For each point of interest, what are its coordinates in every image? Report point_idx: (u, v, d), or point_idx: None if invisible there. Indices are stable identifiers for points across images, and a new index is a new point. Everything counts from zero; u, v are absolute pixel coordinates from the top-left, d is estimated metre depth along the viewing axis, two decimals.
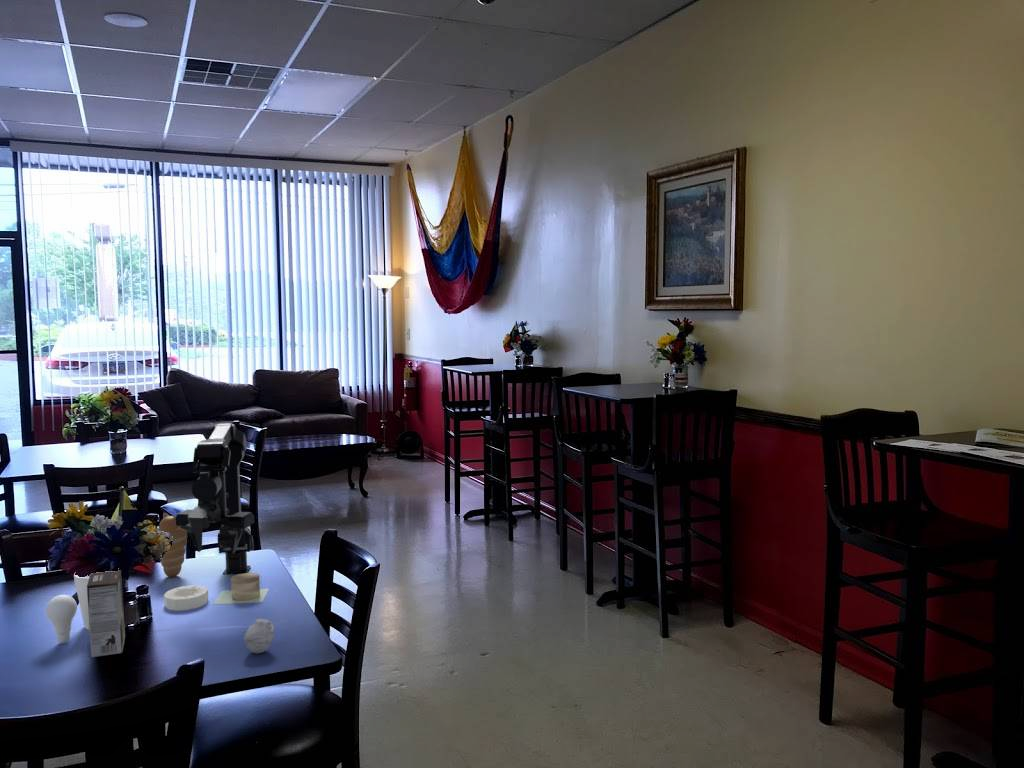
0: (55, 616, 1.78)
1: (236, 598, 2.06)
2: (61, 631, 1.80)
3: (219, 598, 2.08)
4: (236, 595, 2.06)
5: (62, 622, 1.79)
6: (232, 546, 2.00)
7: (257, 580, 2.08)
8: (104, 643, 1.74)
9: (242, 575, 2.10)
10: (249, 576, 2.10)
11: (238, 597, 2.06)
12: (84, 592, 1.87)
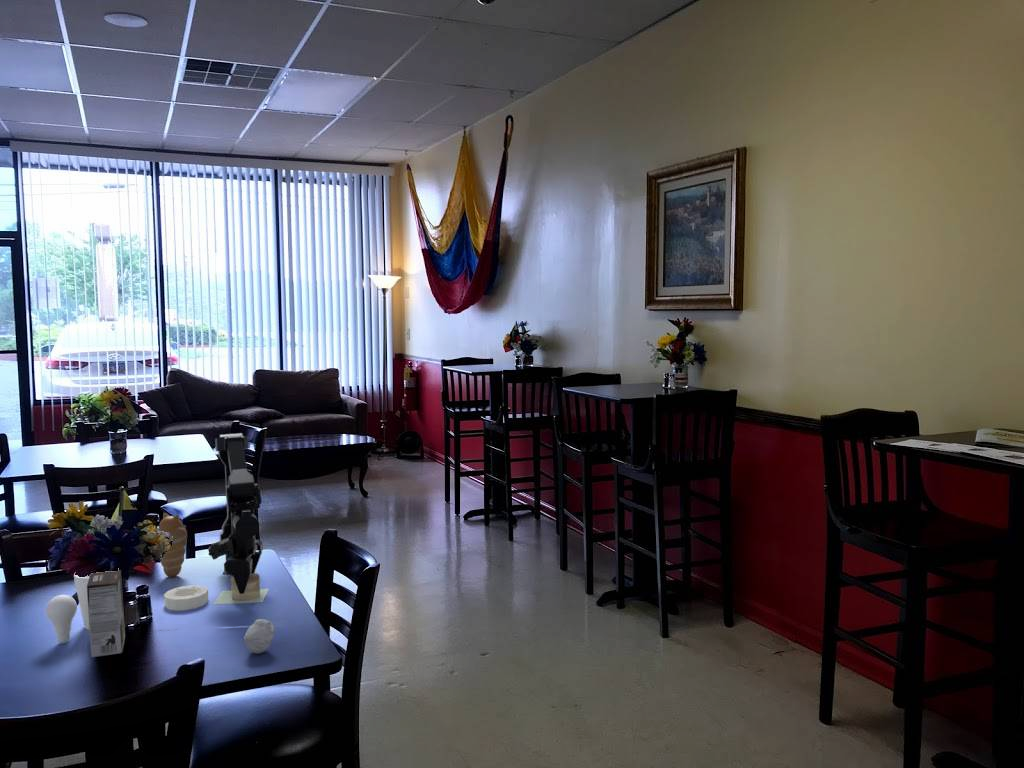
0: (55, 616, 1.78)
1: (236, 598, 2.06)
2: (61, 631, 1.80)
3: (219, 598, 2.08)
4: (236, 595, 2.06)
5: (62, 622, 1.79)
6: None
7: (257, 580, 2.08)
8: (104, 643, 1.74)
9: None
10: None
11: (238, 597, 2.06)
12: (84, 592, 1.87)
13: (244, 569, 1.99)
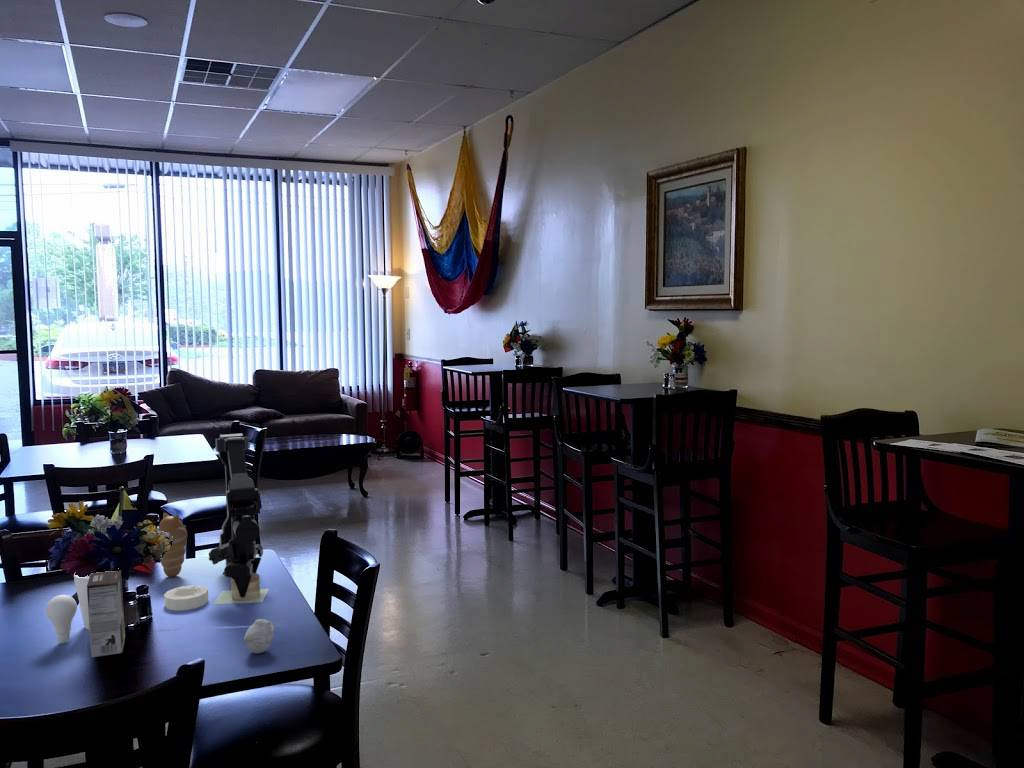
0: (55, 616, 1.78)
1: (236, 598, 2.06)
2: (61, 631, 1.80)
3: (219, 598, 2.08)
4: (236, 595, 2.06)
5: (62, 622, 1.79)
6: None
7: (257, 580, 2.08)
8: (104, 643, 1.74)
9: None
10: None
11: (238, 597, 2.06)
12: (84, 592, 1.87)
13: (244, 574, 1.99)
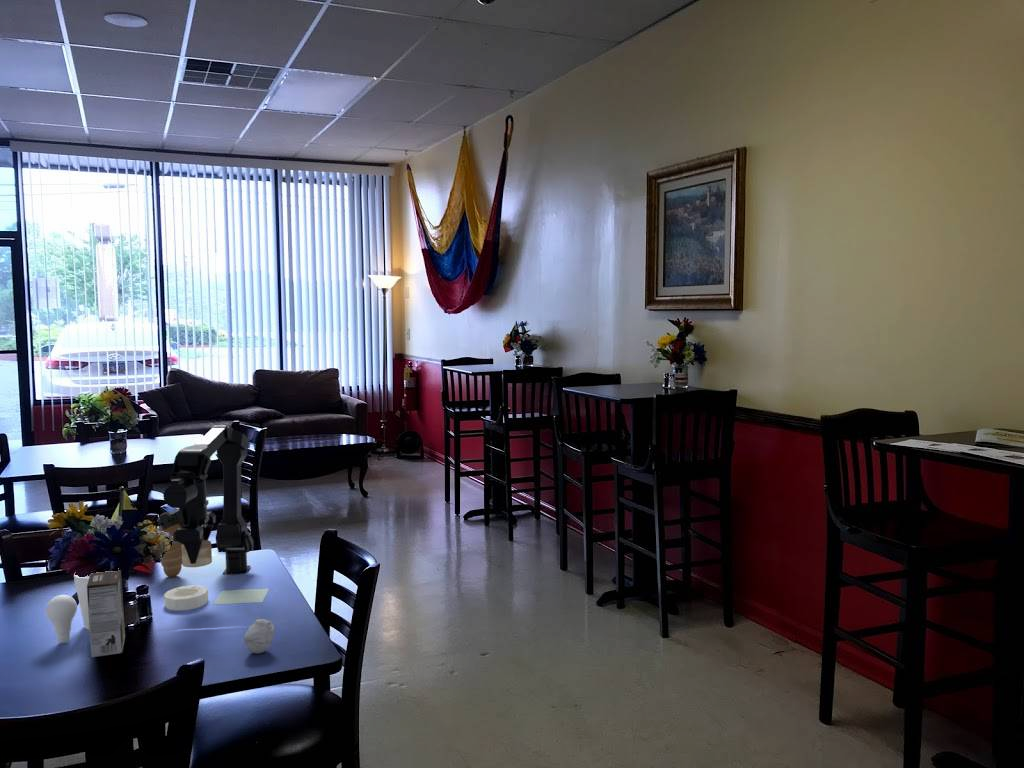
0: (55, 616, 1.78)
1: (187, 564, 2.01)
2: (61, 631, 1.80)
3: (219, 598, 2.08)
4: (186, 562, 2.01)
5: (62, 622, 1.79)
6: None
7: (209, 546, 2.03)
8: (104, 643, 1.74)
9: None
10: None
11: (189, 564, 2.01)
12: (84, 592, 1.87)
13: (194, 539, 1.95)
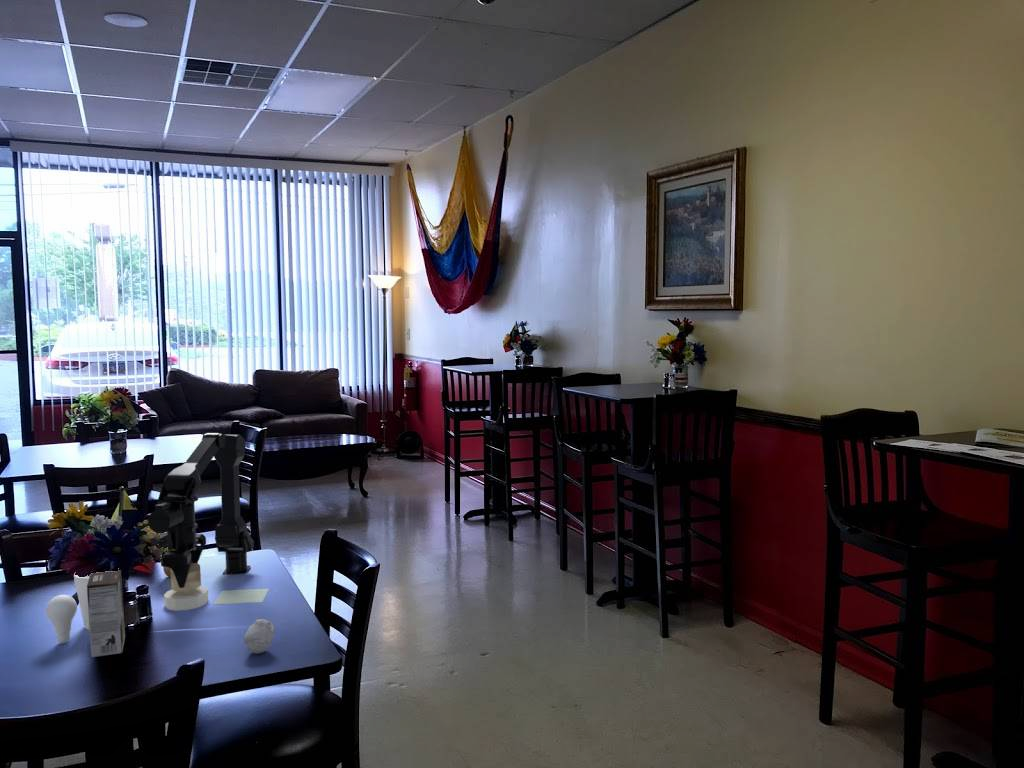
0: (55, 616, 1.78)
1: (175, 588, 2.01)
2: (61, 631, 1.80)
3: (219, 598, 2.08)
4: (175, 586, 2.01)
5: (62, 622, 1.79)
6: None
7: (197, 570, 2.03)
8: (104, 643, 1.74)
9: None
10: None
11: (178, 588, 2.01)
12: (84, 592, 1.87)
13: (181, 564, 1.94)
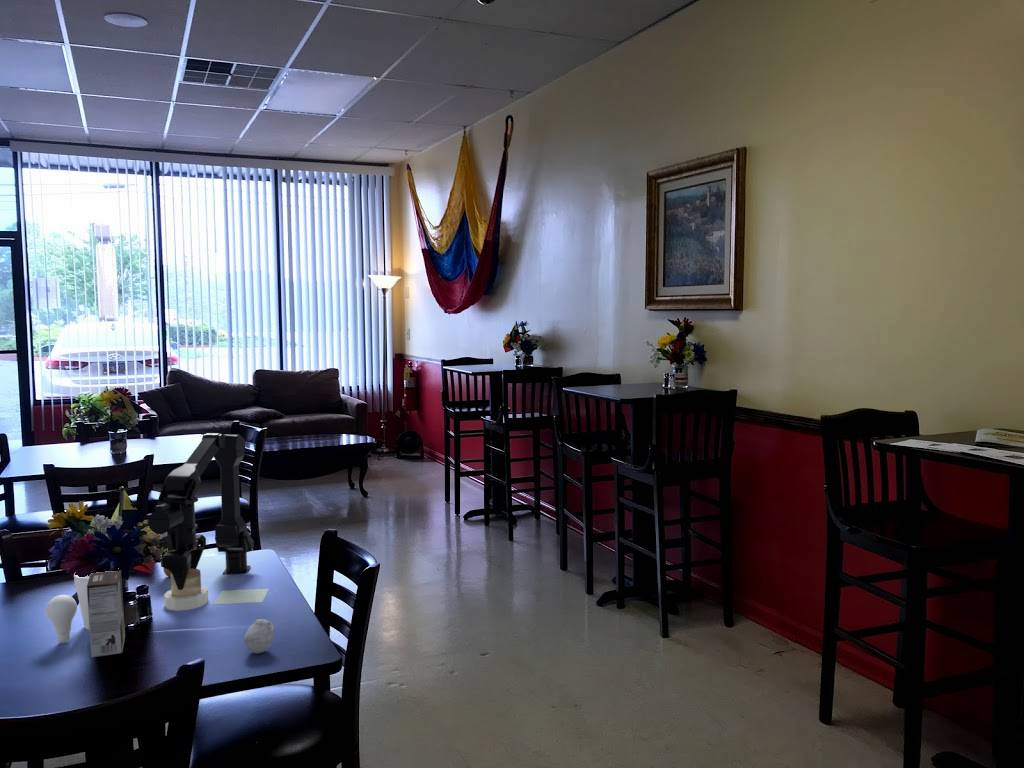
0: (55, 616, 1.78)
1: (175, 594, 2.01)
2: (61, 631, 1.80)
3: (219, 598, 2.08)
4: (175, 591, 2.01)
5: (62, 622, 1.79)
6: None
7: (197, 576, 2.03)
8: (104, 643, 1.74)
9: None
10: (190, 571, 2.05)
11: (178, 593, 2.01)
12: (84, 592, 1.87)
13: (181, 564, 1.94)
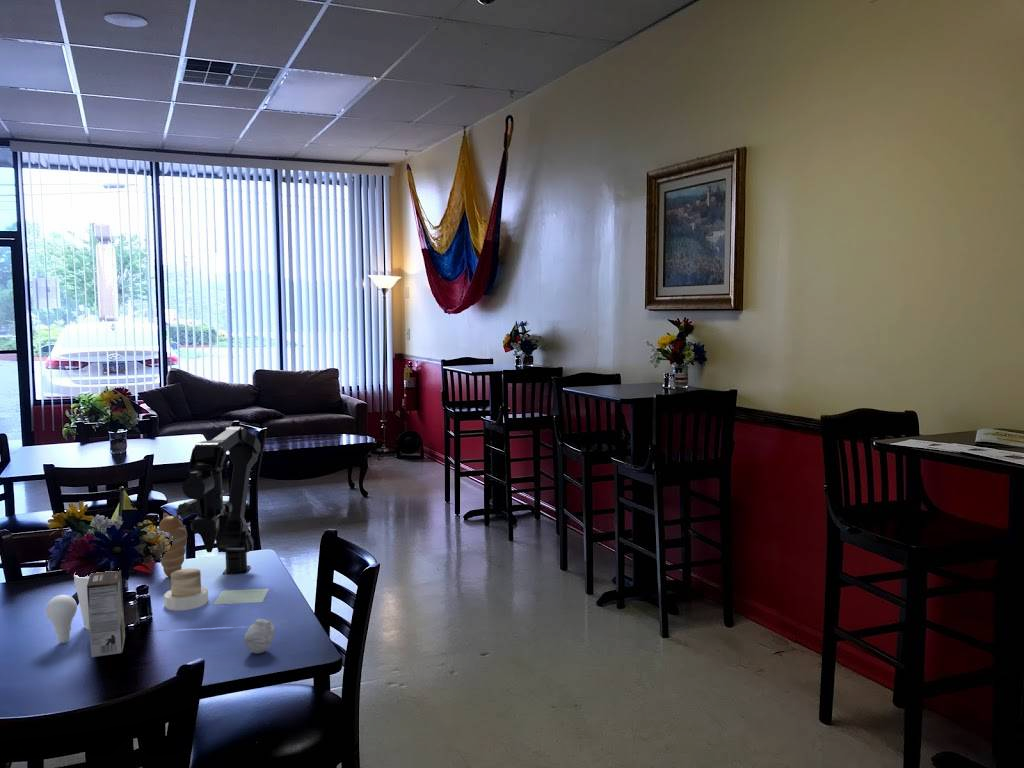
0: (55, 616, 1.78)
1: (175, 594, 2.01)
2: (61, 631, 1.80)
3: (219, 598, 2.08)
4: (175, 591, 2.01)
5: (62, 622, 1.79)
6: None
7: (197, 576, 2.03)
8: (104, 643, 1.74)
9: (183, 571, 2.05)
10: (190, 571, 2.05)
11: (178, 593, 2.01)
12: (84, 592, 1.87)
13: (210, 528, 2.05)
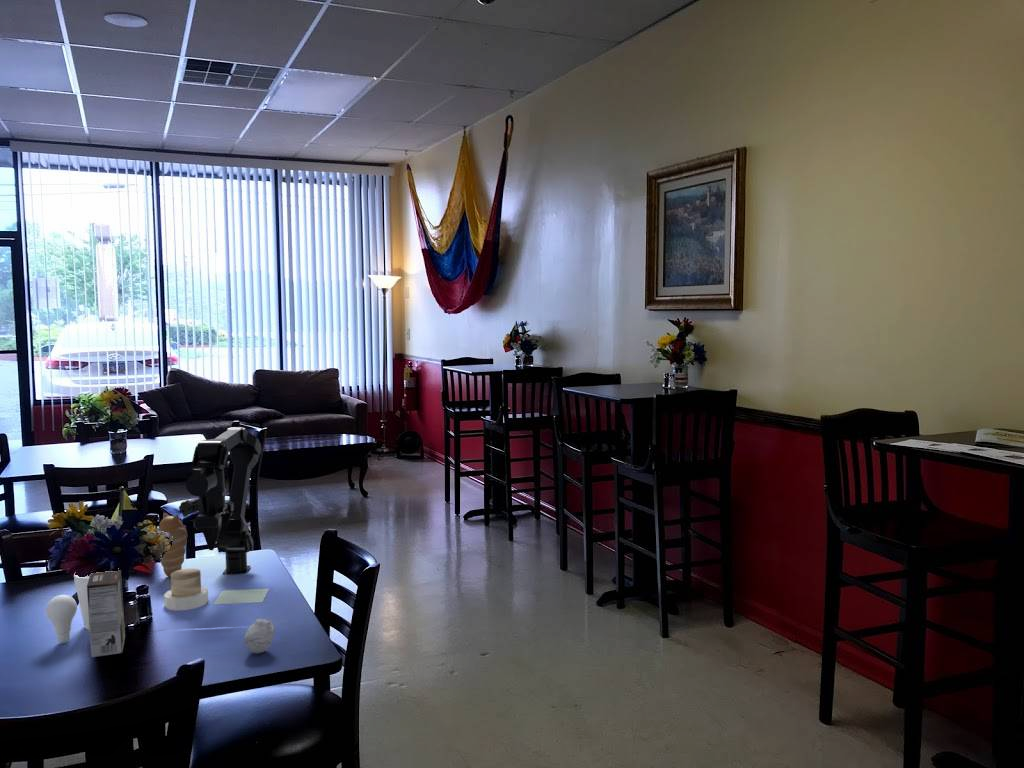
0: (55, 616, 1.78)
1: (175, 594, 2.01)
2: (61, 631, 1.80)
3: (219, 598, 2.08)
4: (175, 591, 2.01)
5: (62, 622, 1.79)
6: None
7: (197, 576, 2.03)
8: (104, 643, 1.74)
9: (183, 571, 2.05)
10: (190, 571, 2.05)
11: (178, 593, 2.01)
12: (84, 592, 1.87)
13: (213, 525, 2.05)
